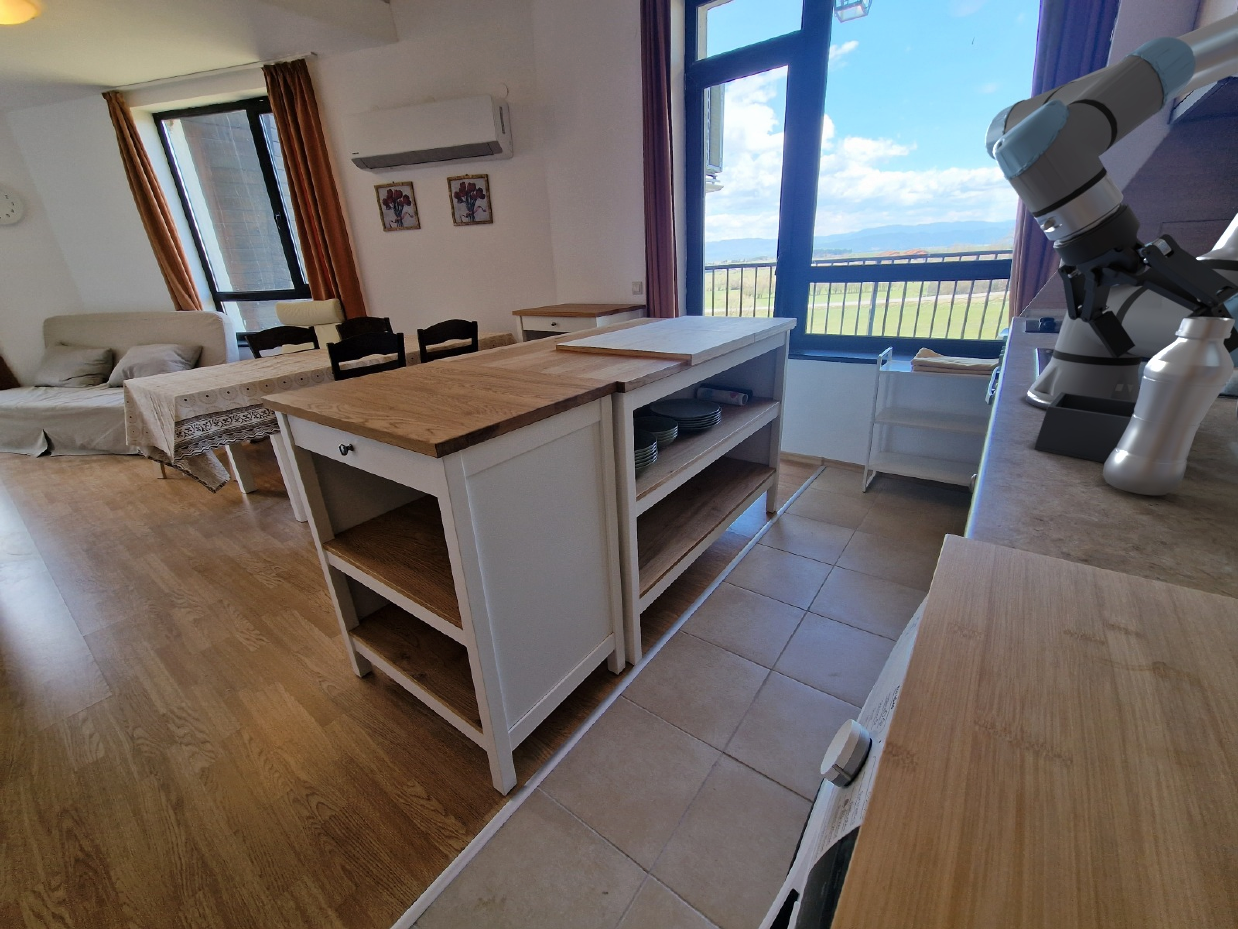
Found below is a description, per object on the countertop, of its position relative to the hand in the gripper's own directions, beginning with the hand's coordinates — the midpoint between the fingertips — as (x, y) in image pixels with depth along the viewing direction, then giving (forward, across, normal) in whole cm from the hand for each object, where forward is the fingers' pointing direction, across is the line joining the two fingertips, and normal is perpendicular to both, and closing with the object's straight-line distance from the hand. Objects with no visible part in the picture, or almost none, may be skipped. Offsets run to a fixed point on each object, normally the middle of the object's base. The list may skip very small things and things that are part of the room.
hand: (1171, 351), depth 65 cm
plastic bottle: (+6, +11, -19) cm, 23 cm away
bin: (+7, -3, -13) cm, 15 cm away
